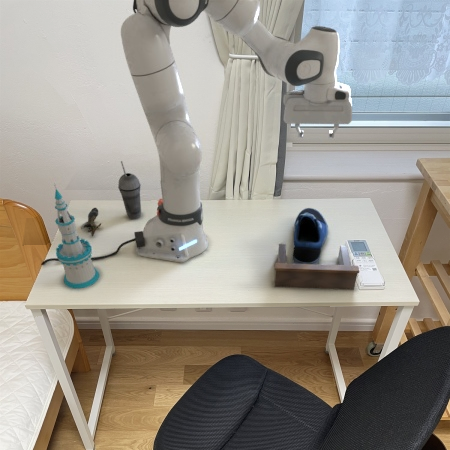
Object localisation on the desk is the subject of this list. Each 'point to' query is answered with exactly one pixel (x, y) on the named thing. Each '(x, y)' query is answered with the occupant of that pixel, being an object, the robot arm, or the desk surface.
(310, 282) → the wooden u-shaped bracket
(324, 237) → the shoe
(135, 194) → the beverage cup
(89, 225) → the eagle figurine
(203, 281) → the desk surface
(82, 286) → the model tower
